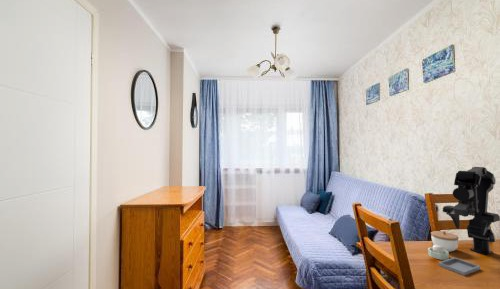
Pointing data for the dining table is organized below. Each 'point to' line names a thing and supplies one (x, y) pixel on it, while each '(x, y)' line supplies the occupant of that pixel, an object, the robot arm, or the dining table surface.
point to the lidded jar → (445, 240)
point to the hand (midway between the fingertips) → (470, 231)
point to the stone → (438, 249)
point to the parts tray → (459, 266)
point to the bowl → (438, 254)
